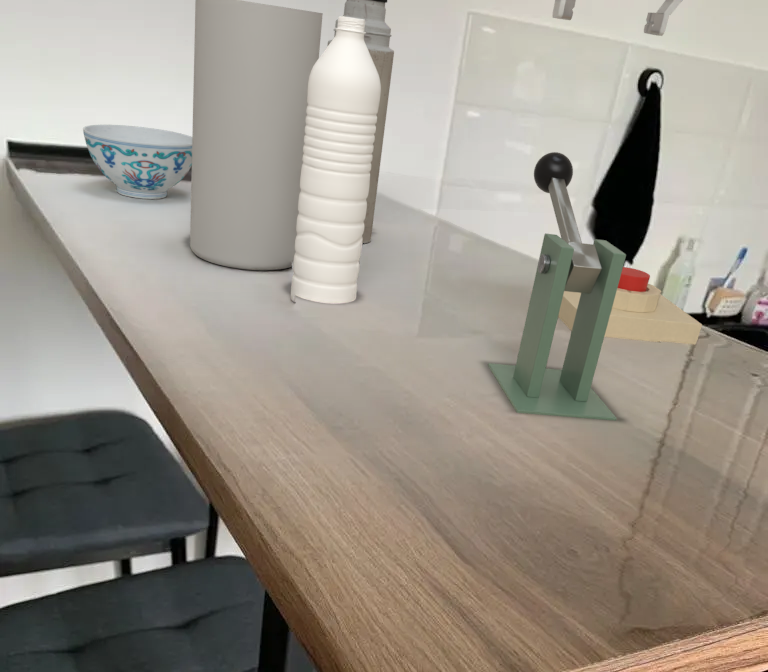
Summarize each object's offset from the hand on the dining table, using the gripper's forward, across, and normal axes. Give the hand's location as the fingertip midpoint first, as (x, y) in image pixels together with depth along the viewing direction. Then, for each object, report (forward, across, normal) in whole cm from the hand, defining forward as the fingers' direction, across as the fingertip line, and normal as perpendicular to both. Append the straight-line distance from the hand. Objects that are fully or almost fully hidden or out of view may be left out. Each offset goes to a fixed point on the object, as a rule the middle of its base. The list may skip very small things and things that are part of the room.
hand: (607, 27), depth 83 cm
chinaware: (+28, +48, -38) cm, 67 cm away
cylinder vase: (+28, +33, -8) cm, 44 cm away
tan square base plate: (+28, -6, +7) cm, 29 cm away
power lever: (+15, +8, +23) cm, 29 cm away
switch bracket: (+28, +8, +29) cm, 41 cm away
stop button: (+23, -6, +7) cm, 25 cm away
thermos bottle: (+28, +21, -24) cm, 42 cm away
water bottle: (+28, +25, +6) cm, 38 cm away
